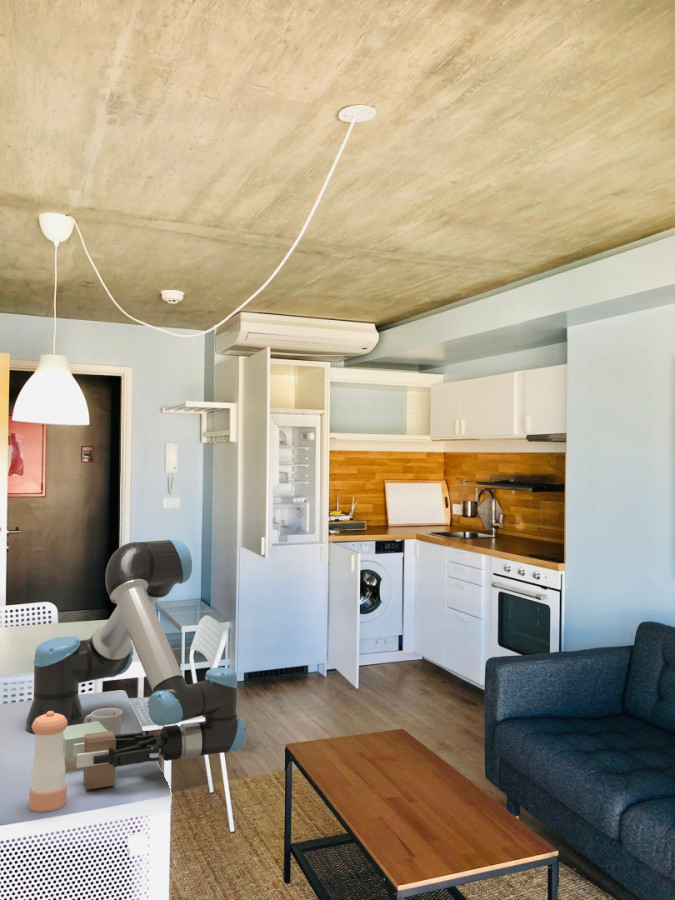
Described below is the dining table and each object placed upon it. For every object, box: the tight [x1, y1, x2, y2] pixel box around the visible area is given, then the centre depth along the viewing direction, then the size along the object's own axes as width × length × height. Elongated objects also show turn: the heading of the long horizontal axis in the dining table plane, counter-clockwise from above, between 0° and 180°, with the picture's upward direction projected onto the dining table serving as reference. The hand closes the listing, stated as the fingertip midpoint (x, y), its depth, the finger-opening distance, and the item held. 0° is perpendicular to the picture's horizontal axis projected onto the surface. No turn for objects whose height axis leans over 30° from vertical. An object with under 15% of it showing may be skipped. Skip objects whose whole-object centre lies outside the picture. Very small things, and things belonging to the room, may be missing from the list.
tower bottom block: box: [64, 756, 84, 773], centre depth 178 cm, size 10×10×4 cm
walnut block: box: [83, 731, 116, 790], centre depth 165 cm, size 6×6×10 cm
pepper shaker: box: [28, 711, 68, 813], centre depth 155 cm, size 7×7×19 cm
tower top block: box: [63, 721, 107, 757], centre depth 178 cm, size 10×10×4 cm
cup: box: [84, 707, 124, 735], centre depth 192 cm, size 11×8×8 cm
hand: (75, 755), depth 163 cm, fingers closed on walnut block, 6 cm apart
